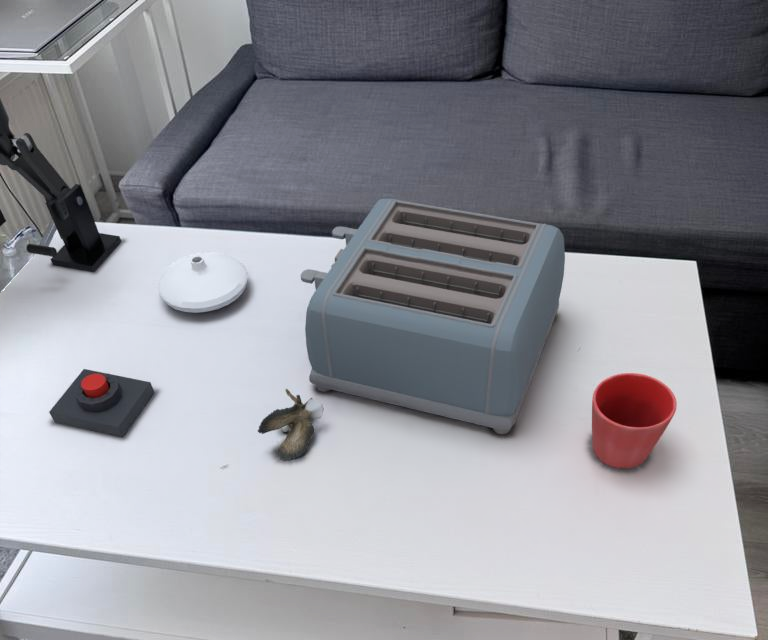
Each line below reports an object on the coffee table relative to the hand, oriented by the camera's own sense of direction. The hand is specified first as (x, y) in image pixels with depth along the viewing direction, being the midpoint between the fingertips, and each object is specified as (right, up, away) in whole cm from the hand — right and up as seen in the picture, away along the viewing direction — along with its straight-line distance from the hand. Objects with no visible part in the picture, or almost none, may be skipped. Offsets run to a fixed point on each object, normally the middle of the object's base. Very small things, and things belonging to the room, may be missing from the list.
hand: (33, 230), depth 127 cm
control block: (+16, -32, -11) cm, 37 cm away
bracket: (+3, +1, +15) cm, 15 cm away
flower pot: (+93, -39, -21) cm, 103 cm away
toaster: (+67, -22, -6) cm, 71 cm away
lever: (+2, +3, +6) cm, 6 cm away
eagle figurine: (+47, -37, -17) cm, 62 cm away
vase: (+28, -9, +5) cm, 30 cm away
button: (+16, -30, -14) cm, 36 cm away
